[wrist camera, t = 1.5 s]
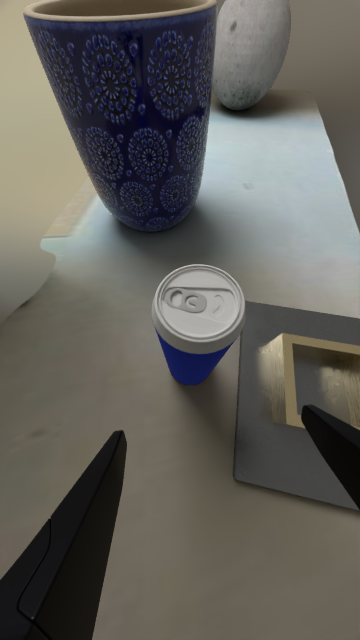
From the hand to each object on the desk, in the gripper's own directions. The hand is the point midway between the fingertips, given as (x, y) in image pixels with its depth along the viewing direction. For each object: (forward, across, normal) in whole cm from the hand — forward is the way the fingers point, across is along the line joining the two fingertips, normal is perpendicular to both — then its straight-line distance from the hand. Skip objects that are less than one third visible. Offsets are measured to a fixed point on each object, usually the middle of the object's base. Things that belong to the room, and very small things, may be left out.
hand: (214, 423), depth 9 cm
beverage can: (+13, 0, +5) cm, 14 cm away
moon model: (+68, -26, -50) cm, 88 cm away
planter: (+34, +3, -16) cm, 38 cm away
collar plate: (+10, -13, +8) cm, 18 cm away
